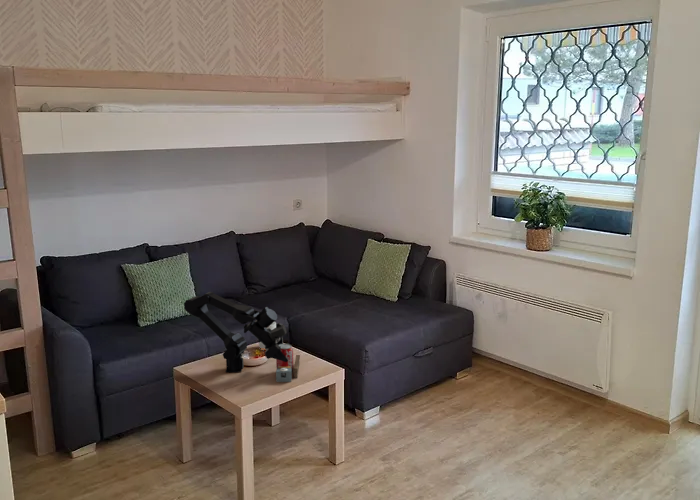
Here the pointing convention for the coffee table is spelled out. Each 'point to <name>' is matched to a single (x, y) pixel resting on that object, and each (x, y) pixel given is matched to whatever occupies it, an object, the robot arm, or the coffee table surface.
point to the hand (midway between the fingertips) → (288, 358)
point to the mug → (267, 328)
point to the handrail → (296, 366)
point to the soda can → (288, 353)
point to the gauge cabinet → (283, 378)
